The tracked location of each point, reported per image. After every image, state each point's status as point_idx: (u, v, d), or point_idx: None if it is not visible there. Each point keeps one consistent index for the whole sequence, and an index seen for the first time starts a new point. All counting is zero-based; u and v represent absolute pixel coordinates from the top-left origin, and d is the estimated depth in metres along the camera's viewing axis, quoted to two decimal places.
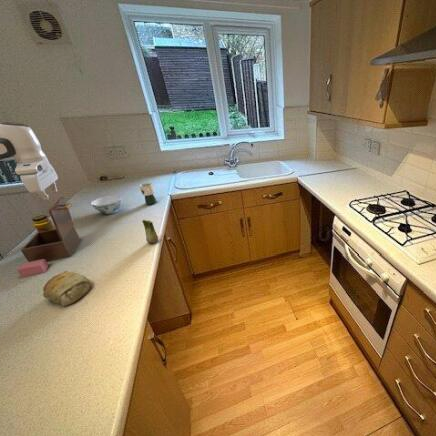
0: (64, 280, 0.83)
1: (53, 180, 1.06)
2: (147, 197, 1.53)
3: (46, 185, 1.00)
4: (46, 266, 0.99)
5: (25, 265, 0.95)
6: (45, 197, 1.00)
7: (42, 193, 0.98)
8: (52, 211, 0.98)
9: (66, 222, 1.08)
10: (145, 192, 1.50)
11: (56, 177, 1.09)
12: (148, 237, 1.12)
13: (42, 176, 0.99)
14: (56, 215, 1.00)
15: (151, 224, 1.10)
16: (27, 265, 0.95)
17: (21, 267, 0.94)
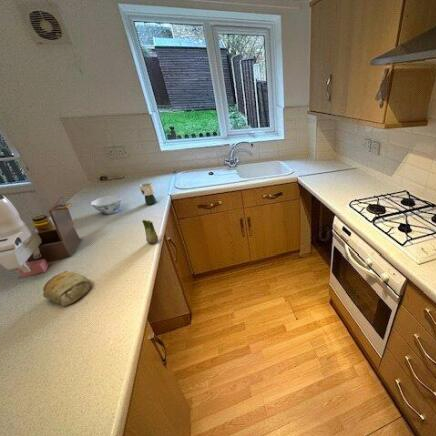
0: (64, 280, 0.83)
1: (36, 246, 0.97)
2: (147, 197, 1.53)
3: (27, 256, 0.91)
4: (46, 266, 0.99)
5: None
6: (26, 269, 0.91)
7: (22, 266, 0.90)
8: (52, 211, 0.98)
9: (66, 222, 1.08)
10: (145, 192, 1.50)
11: (39, 241, 1.00)
12: (148, 237, 1.12)
13: (23, 247, 0.91)
14: (56, 215, 1.00)
15: (151, 224, 1.10)
16: (27, 265, 0.95)
17: None
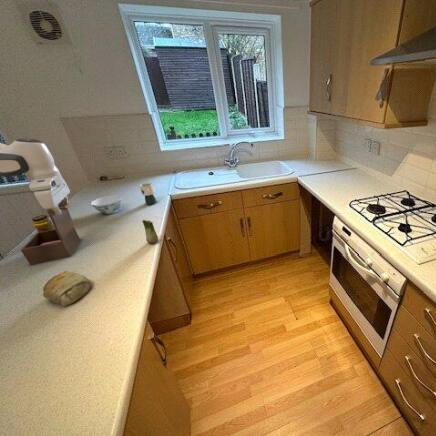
0: (64, 280, 0.83)
1: (65, 194, 1.06)
2: (147, 197, 1.53)
3: (59, 200, 1.00)
4: None
5: None
6: (58, 212, 1.00)
7: (55, 208, 0.98)
8: (51, 211, 0.97)
9: (66, 222, 1.08)
10: (145, 192, 1.50)
11: (68, 191, 1.09)
12: (148, 237, 1.12)
13: (56, 191, 0.99)
14: (55, 215, 1.00)
15: (151, 224, 1.10)
16: None
17: None
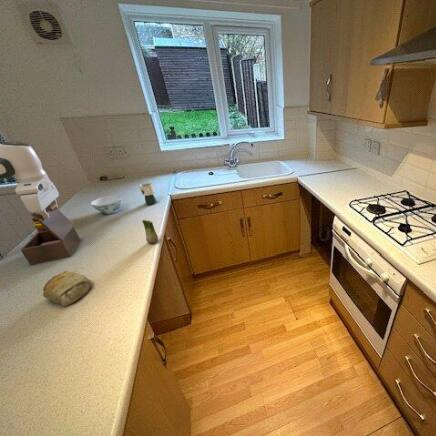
0: (64, 280, 0.83)
1: (54, 197, 1.05)
2: (147, 197, 1.53)
3: (47, 204, 0.98)
4: None
5: None
6: (46, 216, 0.99)
7: (43, 212, 0.97)
8: (36, 215, 0.96)
9: (61, 223, 1.07)
10: (145, 192, 1.50)
11: (57, 194, 1.08)
12: (148, 237, 1.12)
13: (43, 194, 0.98)
14: (43, 218, 0.99)
15: (151, 224, 1.10)
16: None
17: None
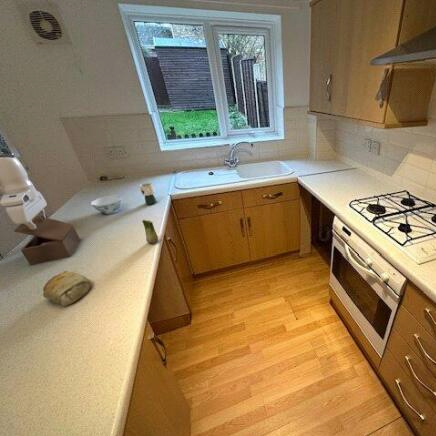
0: (64, 280, 0.83)
1: (41, 207, 1.04)
2: (147, 197, 1.53)
3: (33, 214, 0.98)
4: None
5: None
6: (32, 227, 0.98)
7: (29, 223, 0.96)
8: (19, 229, 0.96)
9: (56, 227, 1.07)
10: (145, 192, 1.50)
11: (45, 204, 1.07)
12: (148, 237, 1.12)
13: (30, 205, 0.97)
14: (30, 229, 0.99)
15: (151, 224, 1.10)
16: None
17: None
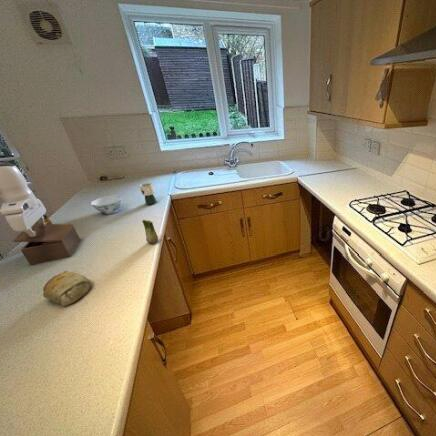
0: (64, 280, 0.83)
1: (41, 215, 1.05)
2: (147, 197, 1.53)
3: (33, 222, 0.99)
4: None
5: None
6: (32, 234, 0.99)
7: (29, 230, 0.97)
8: (18, 239, 0.97)
9: (55, 230, 1.07)
10: (145, 192, 1.50)
11: (44, 211, 1.08)
12: (148, 237, 1.12)
13: (29, 213, 0.98)
14: (29, 237, 0.99)
15: (151, 224, 1.10)
16: None
17: None
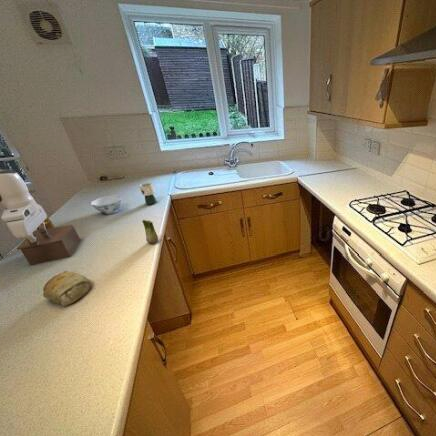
0: (64, 280, 0.83)
1: (42, 220, 1.06)
2: (147, 197, 1.53)
3: (34, 228, 1.00)
4: None
5: None
6: (33, 240, 1.00)
7: (30, 236, 0.98)
8: (20, 246, 0.98)
9: (55, 232, 1.08)
10: (145, 192, 1.50)
11: (45, 216, 1.09)
12: (148, 237, 1.12)
13: (30, 219, 0.99)
14: None
15: (151, 224, 1.10)
16: None
17: None
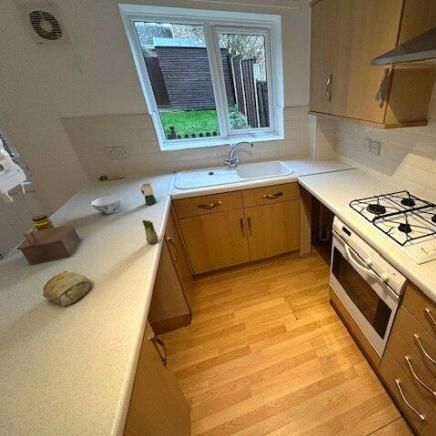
0: (64, 280, 0.83)
1: (19, 181, 0.98)
2: (147, 197, 1.53)
3: (9, 187, 0.91)
4: None
5: None
6: (8, 200, 0.92)
7: (4, 195, 0.90)
8: (20, 246, 0.98)
9: (55, 232, 1.08)
10: (145, 192, 1.50)
11: (24, 178, 1.01)
12: (148, 237, 1.12)
13: (5, 176, 0.91)
14: (31, 242, 1.00)
15: (151, 224, 1.10)
16: None
17: None
